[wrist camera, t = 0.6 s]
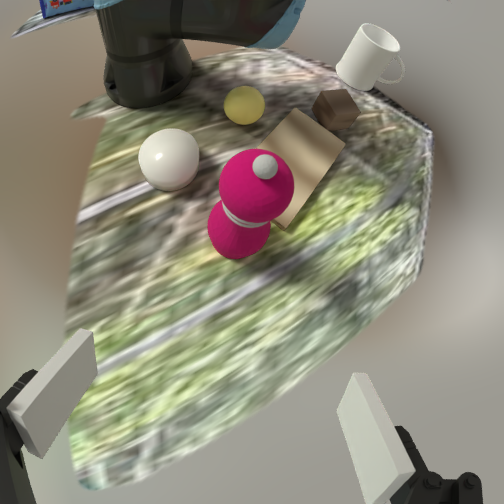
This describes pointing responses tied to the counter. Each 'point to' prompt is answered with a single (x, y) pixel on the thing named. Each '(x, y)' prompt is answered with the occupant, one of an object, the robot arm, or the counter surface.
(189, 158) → the white rounded piece
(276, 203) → the pepper mill
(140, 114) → the counter surface
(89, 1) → the lunch bag
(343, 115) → the walnut block
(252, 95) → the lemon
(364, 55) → the mug
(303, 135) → the serving board
